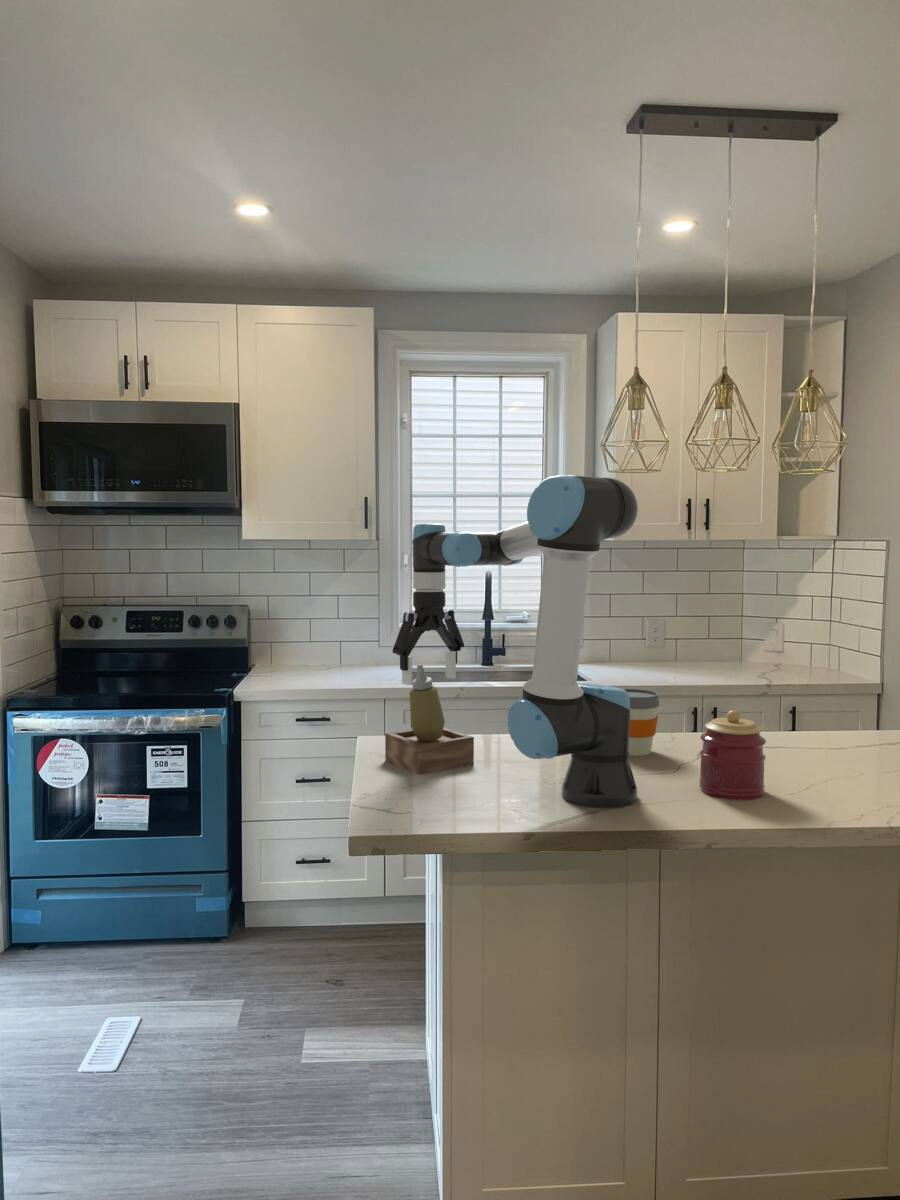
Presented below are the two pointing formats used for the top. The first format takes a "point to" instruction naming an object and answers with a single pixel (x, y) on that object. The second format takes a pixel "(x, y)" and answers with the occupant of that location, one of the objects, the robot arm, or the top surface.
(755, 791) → the canister
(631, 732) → the reusable coffee cup
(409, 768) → the walnut tray
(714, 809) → the top surface
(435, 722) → the squeeze bottle
